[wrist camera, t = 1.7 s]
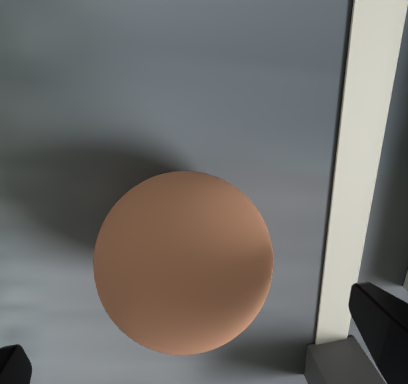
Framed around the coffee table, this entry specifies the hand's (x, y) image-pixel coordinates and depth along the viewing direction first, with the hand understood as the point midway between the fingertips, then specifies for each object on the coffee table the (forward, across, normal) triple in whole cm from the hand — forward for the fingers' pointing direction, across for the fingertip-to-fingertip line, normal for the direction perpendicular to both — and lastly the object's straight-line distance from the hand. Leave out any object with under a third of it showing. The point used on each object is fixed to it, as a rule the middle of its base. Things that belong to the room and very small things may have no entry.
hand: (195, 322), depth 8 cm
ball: (+3, 0, 0) cm, 3 cm away
